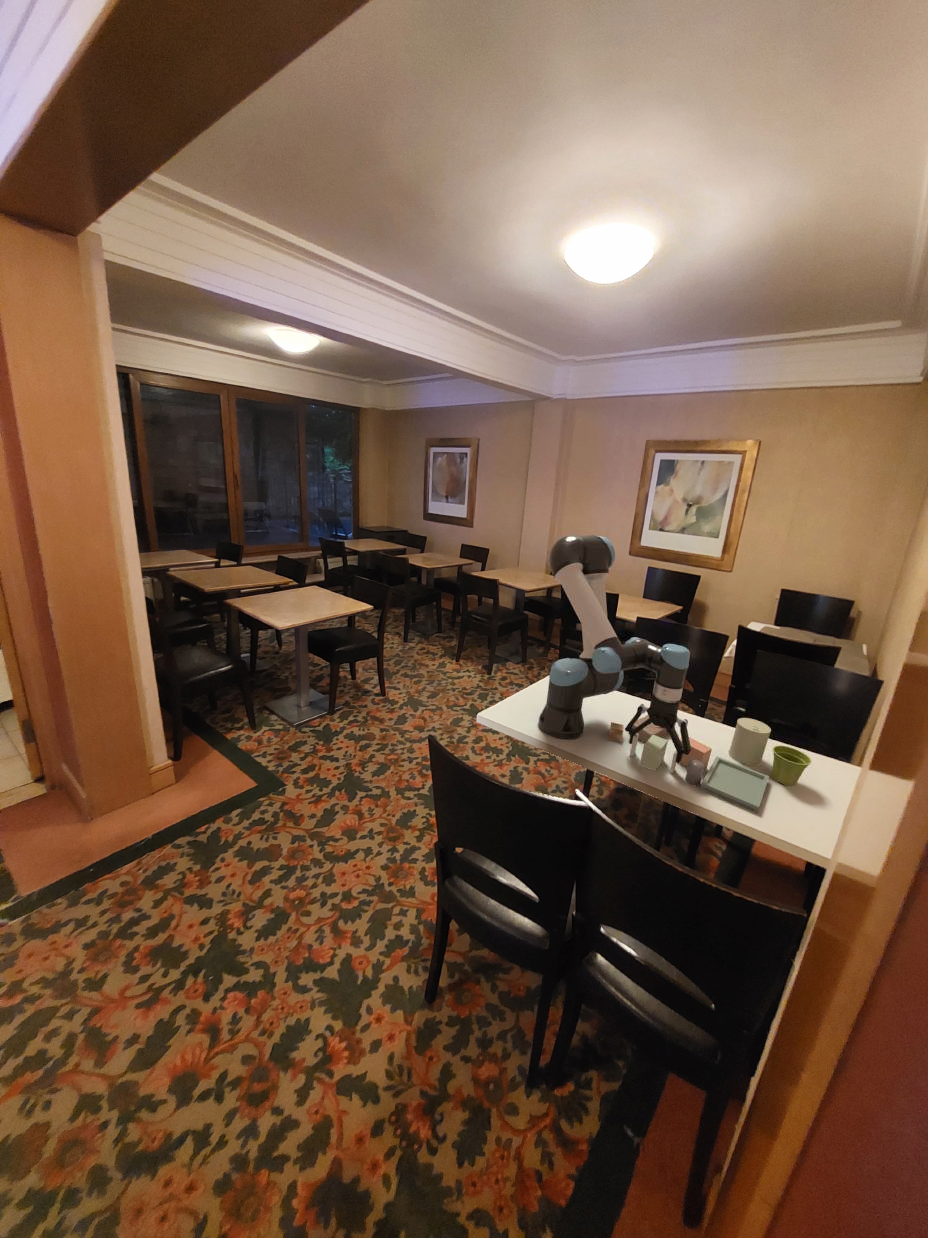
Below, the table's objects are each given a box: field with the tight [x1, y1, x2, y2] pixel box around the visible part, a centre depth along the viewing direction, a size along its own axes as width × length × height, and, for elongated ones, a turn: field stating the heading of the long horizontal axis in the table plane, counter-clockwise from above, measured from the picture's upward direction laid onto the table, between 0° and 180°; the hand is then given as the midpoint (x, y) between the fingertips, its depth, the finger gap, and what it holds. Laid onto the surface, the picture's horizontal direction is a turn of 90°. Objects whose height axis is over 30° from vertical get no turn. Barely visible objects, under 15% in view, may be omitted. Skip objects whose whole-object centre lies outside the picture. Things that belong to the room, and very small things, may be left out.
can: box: [728, 717, 772, 767], centre depth 145 cm, size 9×9×12 cm
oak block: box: [608, 721, 625, 742], centre depth 153 cm, size 4×4×4 cm
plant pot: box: [771, 744, 812, 787], centre depth 135 cm, size 9×9×9 cm
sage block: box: [639, 735, 669, 772], centre depth 140 cm, size 4×8×7 cm, turn 140°
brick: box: [628, 714, 677, 744], centre depth 157 cm, size 16×8×5 cm, turn 130°
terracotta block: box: [679, 736, 713, 771], centre depth 140 cm, size 4×8×7 cm, turn 35°
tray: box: [699, 755, 770, 814], centre depth 132 cm, size 14×18×2 cm
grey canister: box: [684, 760, 705, 787], centre depth 132 cm, size 4×4×6 cm
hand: (651, 761), depth 141 cm, fingers open, 11 cm apart
